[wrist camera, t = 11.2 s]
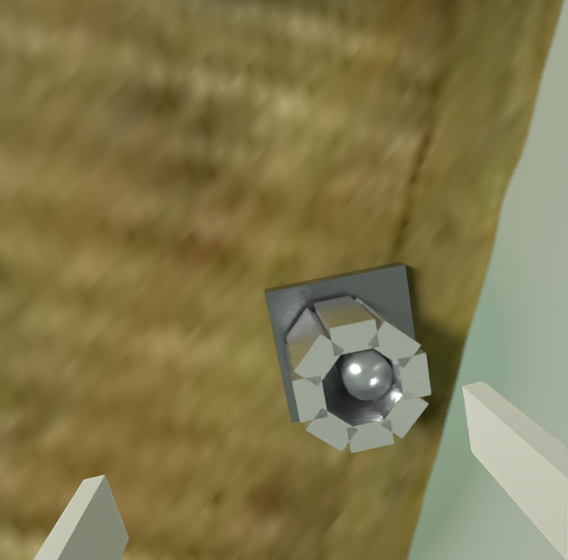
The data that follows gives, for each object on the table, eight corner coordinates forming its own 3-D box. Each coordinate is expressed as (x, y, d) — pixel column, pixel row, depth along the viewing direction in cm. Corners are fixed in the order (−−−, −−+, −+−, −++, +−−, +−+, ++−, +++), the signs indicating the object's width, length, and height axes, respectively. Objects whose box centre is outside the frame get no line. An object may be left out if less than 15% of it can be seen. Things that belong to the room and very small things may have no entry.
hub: (277, 310, 31) (283, 337, 24) (384, 288, 31) (420, 309, 24) (297, 410, 33) (308, 462, 26) (399, 388, 33) (436, 434, 26)
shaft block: (264, 289, 33) (266, 313, 25) (398, 262, 33) (442, 277, 25) (290, 413, 35) (299, 471, 27) (416, 387, 36) (460, 436, 28)
